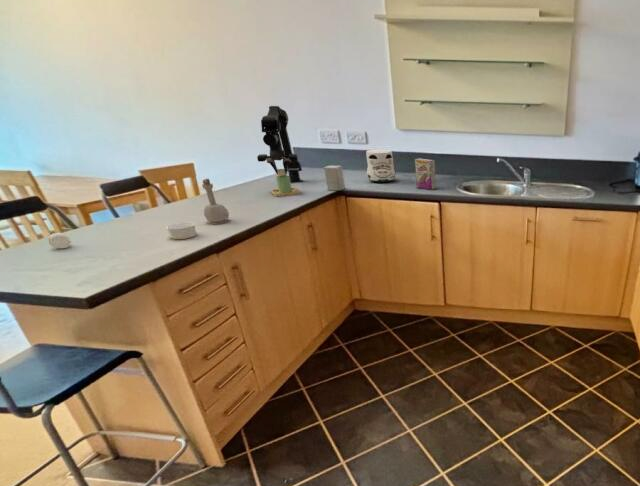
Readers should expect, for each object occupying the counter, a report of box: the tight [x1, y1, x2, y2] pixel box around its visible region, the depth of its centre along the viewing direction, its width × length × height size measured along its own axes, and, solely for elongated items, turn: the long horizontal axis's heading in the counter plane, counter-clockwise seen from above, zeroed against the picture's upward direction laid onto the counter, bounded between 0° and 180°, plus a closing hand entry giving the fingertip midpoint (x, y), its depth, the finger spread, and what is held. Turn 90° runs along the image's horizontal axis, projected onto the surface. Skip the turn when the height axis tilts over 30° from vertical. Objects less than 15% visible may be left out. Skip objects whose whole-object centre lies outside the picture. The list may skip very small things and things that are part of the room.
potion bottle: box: [201, 178, 230, 225], centre depth 175 cm, size 9×9×18 cm
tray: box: [270, 186, 302, 198], centre depth 227 cm, size 12×12×1 cm
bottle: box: [275, 174, 293, 193], centre depth 225 cm, size 6×6×12 cm
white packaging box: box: [323, 165, 346, 191], centre depth 236 cm, size 7×7×13 cm
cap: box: [277, 168, 287, 176], centre depth 222 cm, size 4×4×3 cm
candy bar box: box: [414, 157, 437, 191], centre depth 244 cm, size 11×5×16 cm, turn 65°
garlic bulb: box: [47, 232, 72, 249], centre depth 147 cm, size 6×6×5 cm
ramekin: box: [166, 222, 197, 240], centre depth 160 cm, size 9×9×4 cm
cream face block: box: [365, 149, 397, 183], centre depth 258 cm, size 17×17×18 cm
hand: (282, 174), depth 223 cm, fingers closed on cap, 4 cm apart
